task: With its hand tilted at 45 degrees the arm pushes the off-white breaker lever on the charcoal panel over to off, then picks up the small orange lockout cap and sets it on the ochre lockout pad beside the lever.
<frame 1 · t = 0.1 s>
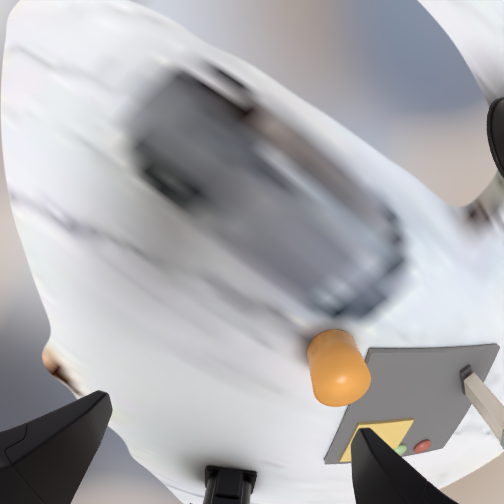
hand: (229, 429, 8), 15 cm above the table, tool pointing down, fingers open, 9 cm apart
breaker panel: (415, 409, 25), on the table
lockout cap: (331, 351, 24), on the table
breaker lever: (493, 413, 16), point 7 cm above the table, hinge at 0.0°
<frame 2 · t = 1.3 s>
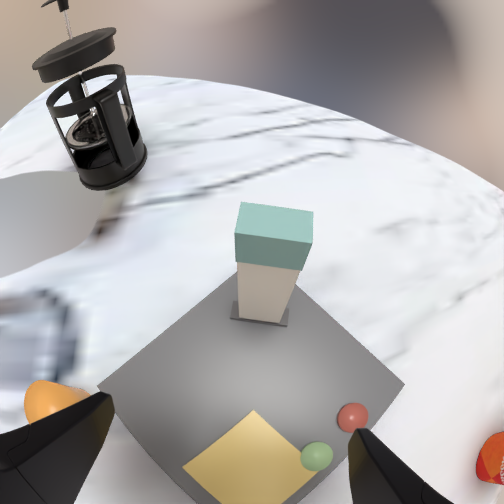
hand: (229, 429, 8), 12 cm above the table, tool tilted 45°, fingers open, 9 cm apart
french press: (115, 165, 32), on the table
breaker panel: (253, 400, 20), on the table
lockout cap: (78, 412, 18), on the table
paper cup: (491, 457, 15), on the table
breaker lever: (265, 279, 17), point 7 cm above the table, hinge at 0.0°
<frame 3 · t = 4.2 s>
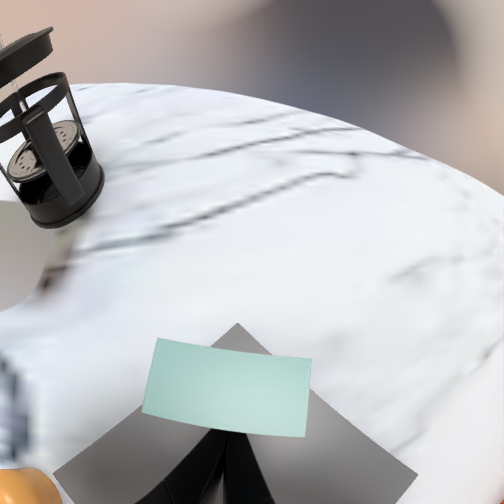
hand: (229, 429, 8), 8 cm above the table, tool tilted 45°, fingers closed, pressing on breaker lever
french press: (68, 196, 25), on the table
lockout cap: (40, 493, 10), on the table
breaker lever: (234, 404, 10), point 7 cm above the table, hinge at 1.7°, touching gripper
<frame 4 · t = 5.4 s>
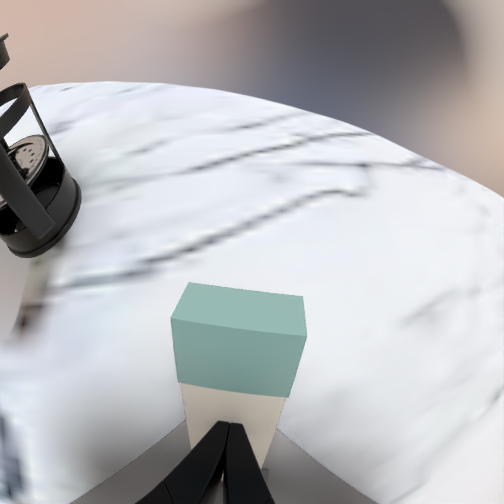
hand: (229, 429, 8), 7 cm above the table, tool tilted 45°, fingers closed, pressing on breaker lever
french press: (44, 218, 22), on the table
breaker lever: (231, 422, 9), point 6 cm above the table, hinge at 34.8°, touching gripper
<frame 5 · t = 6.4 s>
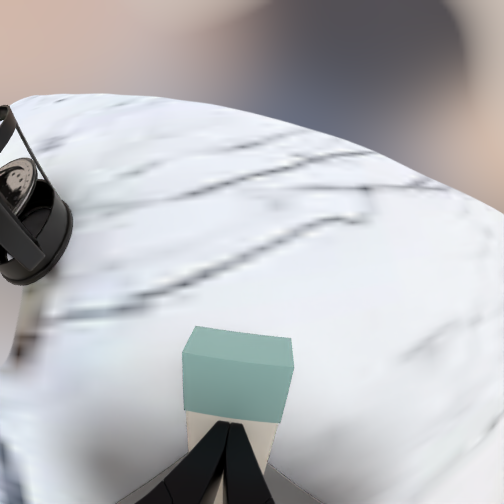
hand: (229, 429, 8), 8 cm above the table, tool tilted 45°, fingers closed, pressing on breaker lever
french press: (36, 243, 21), on the table
breaker lever: (228, 452, 10), point 5 cm above the table, hinge at 45.4°, touching gripper
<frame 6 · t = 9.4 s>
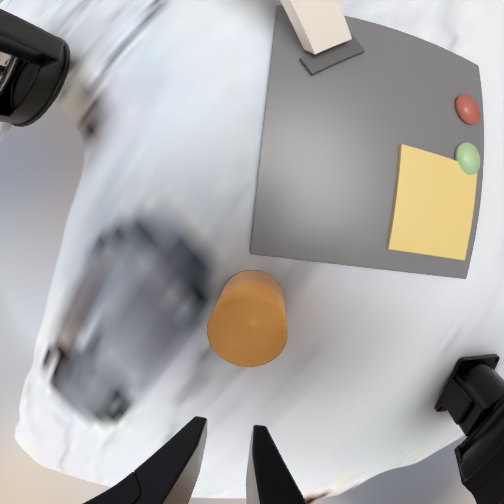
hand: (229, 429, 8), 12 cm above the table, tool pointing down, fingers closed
french press: (39, 79, 17), on the table
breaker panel: (388, 137, 17), on the table
lockout cap: (252, 300, 20), on the table
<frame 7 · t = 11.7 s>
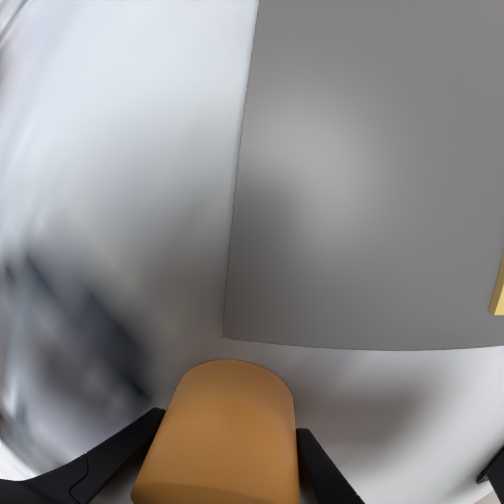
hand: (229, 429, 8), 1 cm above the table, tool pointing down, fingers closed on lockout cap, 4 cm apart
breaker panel: (490, 100, 6), on the table
lockout cap: (233, 405, 10), on the table, touching gripper
when the fingers open (4 cm above the table, at t = 15.2 s): lockout cap drops 2 cm, resting on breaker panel.
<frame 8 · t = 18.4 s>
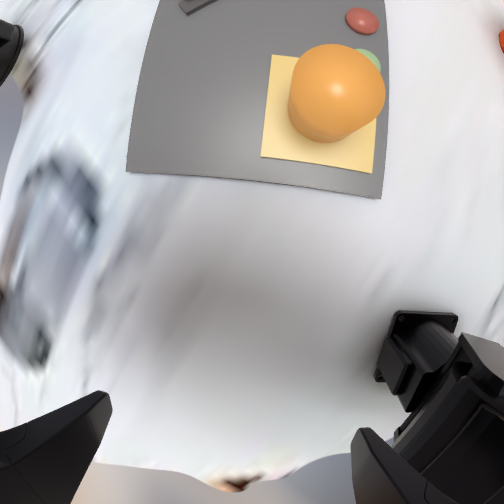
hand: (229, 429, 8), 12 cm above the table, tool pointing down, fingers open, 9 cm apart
french press: (2, 59, 16), on the table
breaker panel: (265, 55, 16), on the table
lockout cap: (323, 109, 16), point 1 cm above the table, touching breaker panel
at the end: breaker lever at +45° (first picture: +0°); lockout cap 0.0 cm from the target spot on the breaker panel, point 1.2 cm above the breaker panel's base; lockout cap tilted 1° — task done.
